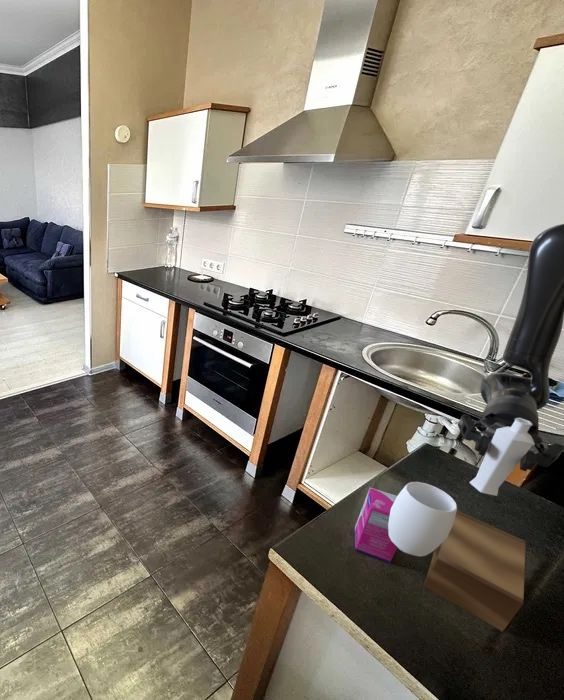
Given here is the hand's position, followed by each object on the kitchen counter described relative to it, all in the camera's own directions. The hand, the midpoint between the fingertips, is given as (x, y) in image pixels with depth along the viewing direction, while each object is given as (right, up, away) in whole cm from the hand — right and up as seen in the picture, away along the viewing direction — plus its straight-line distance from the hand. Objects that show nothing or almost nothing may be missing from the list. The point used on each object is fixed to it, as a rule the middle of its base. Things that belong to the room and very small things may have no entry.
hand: (504, 458), depth 64 cm
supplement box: (-17, -20, +9) cm, 27 cm away
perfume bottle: (+2, -7, +5) cm, 9 cm away
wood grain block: (-3, -22, +3) cm, 23 cm away
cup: (-19, -23, +2) cm, 30 cm away
